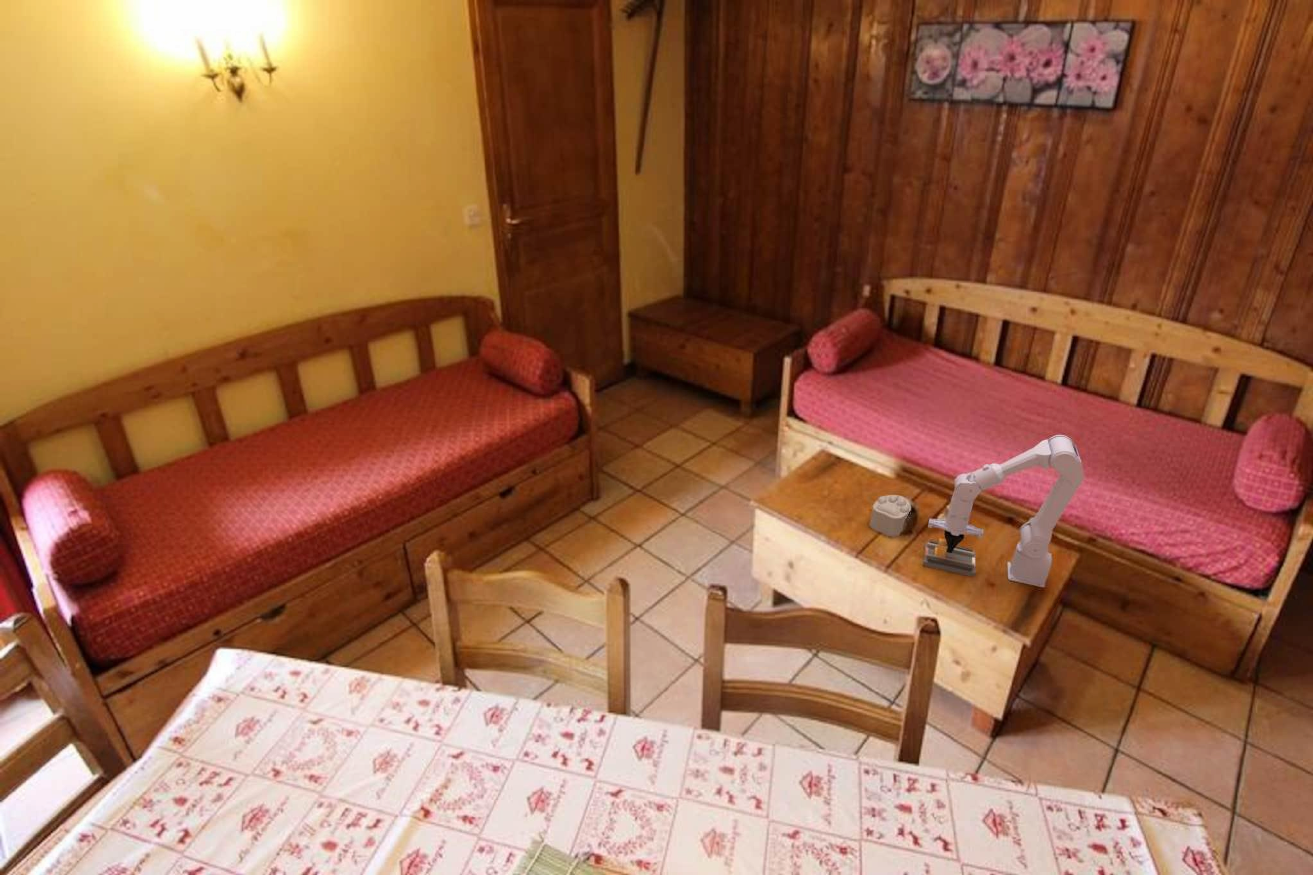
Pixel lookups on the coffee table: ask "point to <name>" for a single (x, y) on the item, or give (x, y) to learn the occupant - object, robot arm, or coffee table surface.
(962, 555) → the breaker panel
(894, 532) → the lumpy-topped squat cylinder
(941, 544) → the breaker lever
